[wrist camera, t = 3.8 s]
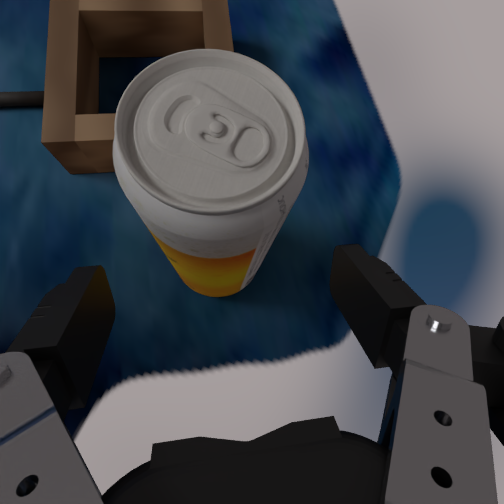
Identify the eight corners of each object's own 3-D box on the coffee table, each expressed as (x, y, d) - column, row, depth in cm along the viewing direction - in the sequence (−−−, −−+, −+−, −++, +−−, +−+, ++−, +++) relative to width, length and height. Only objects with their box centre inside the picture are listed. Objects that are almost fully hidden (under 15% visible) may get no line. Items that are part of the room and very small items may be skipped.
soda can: (200, 205, 24) (169, 8, 10) (271, 240, 24) (349, 91, 9) (160, 275, 22) (50, 161, 8) (236, 313, 22) (265, 266, 8)
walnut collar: (-85, 182, 22) (-148, 150, 19) (-61, 39, 26) (-110, -13, 22) (240, 165, 25) (244, 133, 21) (225, 38, 29) (226, -9, 25)
